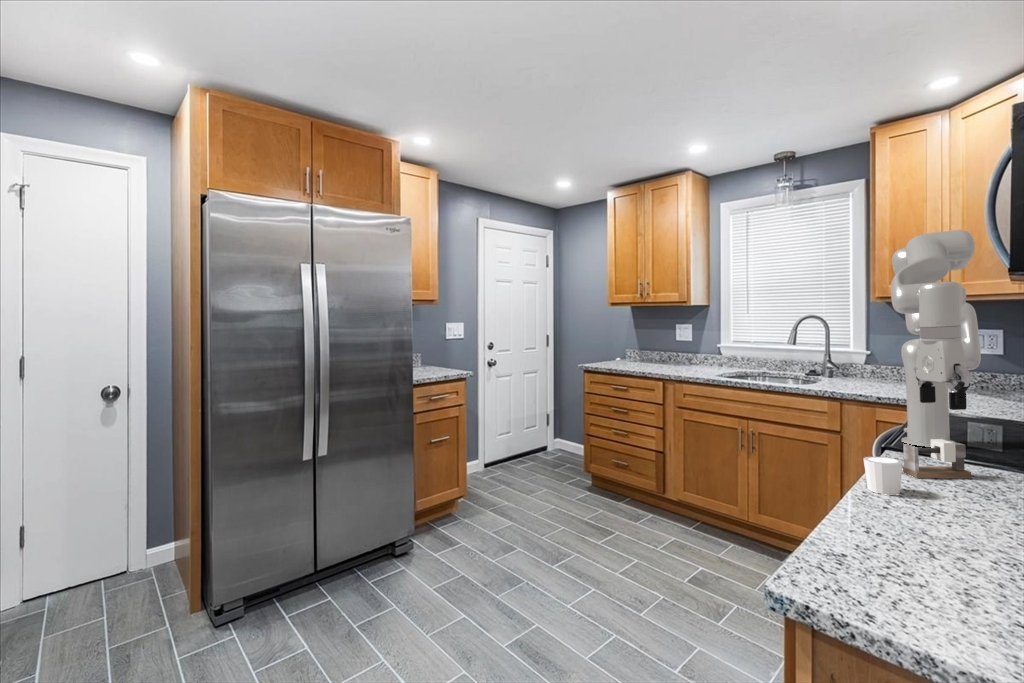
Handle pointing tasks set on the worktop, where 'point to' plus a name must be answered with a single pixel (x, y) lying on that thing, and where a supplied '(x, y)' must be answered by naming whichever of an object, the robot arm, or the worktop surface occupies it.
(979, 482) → the worktop surface
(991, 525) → the worktop surface
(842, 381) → the worktop surface
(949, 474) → the wooden stand
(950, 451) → the sleeve
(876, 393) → the worktop surface
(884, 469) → the shot glass
